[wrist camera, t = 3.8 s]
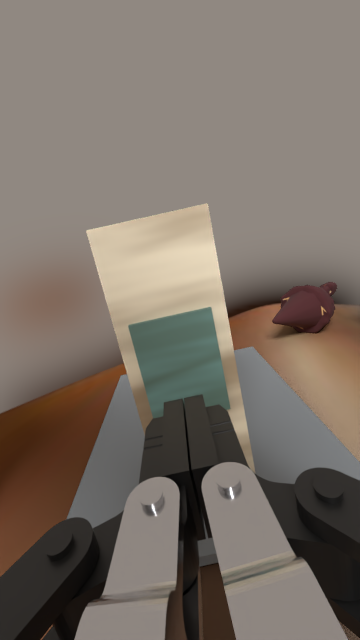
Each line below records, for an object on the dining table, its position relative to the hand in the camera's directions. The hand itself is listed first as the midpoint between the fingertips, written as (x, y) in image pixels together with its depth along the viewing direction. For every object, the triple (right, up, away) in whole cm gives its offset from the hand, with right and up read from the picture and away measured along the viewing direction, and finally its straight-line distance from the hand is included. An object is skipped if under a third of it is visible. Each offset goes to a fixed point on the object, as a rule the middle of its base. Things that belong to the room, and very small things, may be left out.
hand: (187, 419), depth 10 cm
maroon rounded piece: (+18, +2, +29) cm, 34 cm away
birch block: (+1, -6, +8) cm, 10 cm away
